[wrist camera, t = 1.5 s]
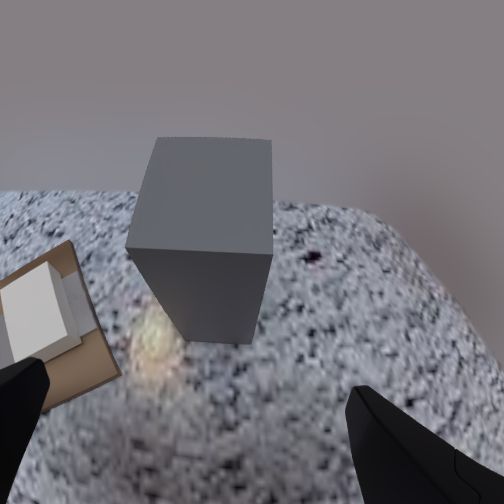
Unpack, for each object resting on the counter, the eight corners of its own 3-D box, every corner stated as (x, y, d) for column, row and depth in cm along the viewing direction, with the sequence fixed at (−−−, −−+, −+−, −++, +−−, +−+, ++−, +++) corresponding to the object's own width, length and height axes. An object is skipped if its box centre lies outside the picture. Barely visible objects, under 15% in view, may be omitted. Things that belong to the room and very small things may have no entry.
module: (251, 344, 21) (273, 254, 9) (185, 340, 20) (124, 247, 9) (253, 275, 23) (271, 137, 12) (192, 272, 23) (158, 135, 11)
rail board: (121, 375, 19) (117, 373, 18) (-38, 445, 13) (-43, 445, 12) (73, 244, 23) (69, 239, 23) (-62, 331, 18) (-67, 329, 17)
